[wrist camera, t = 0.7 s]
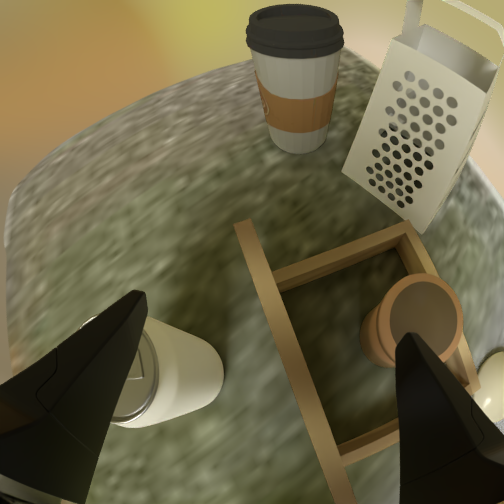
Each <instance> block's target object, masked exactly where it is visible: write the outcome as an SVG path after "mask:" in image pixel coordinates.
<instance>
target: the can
mask: <svg viewBox="0 0 504 504" xmlns="http://www.w3.org/2000/svg"><path fill="white" fill-rule="evenodd" d="M99 314H100V313H99ZM99 314H96V315H94V316H92V317H90V318H89V319H87V320H86V321H85V322H84V323H83V324H82V325H81V326H80V327H79V328H78V330H79V329H80V328H82V327H83V326H84V325H86V324H87V323H88V322H90V321H91V320H92V319H94V318H95V317H96V316H98V315H99ZM78 330H77V331H78ZM223 380H224V369H223V364H222V361H221V359H220V357H219V355H218V353H217V352H216V350H215V349H214V348H213V347H212V346H211V345H210V344H209V343H207V342H206V341H204V340H203V339H201V338H198V337H196V336H194V335H191V334H189V333H187V332H184V331H182V330H179V329H177V328H175V327H172V326H170V325H168V324H165V323H163V322H160V321H158V320H156V319H153V318H151V317H149V316H147V318H146V321H145V325H144V328H143V332H142V335H141V339H140V342H139V346H138V349H137V353H136V356H135V359H134V361H133V364H132V366H131V369H130V371H129V374H128V376H127V379H126V382H125V384H124V387H123V389H122V392H121V395H120V397H119V400H118V403H117V405H116V408H115V411H114V414H113V417H112V419H111V422H110V424H117V425H119V426H123V427H130V428H137V427H144V426H149V425H153V424H156V423H159V422H163V421H166V420H169V419H172V418H175V417H178V416H181V415H184V414H186V413H189V412H192V411H194V410H197V409H200V408H202V407H204V406H206V405H208V404H209V403H210V402H212V401H213V400H214V399H215V398H216V396H217V395H218V394H219V392H220V390H221V387H222V384H223Z"/></svg>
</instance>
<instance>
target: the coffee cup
mask: <svg viewBox="0 0 504 504" xmlns="http://www.w3.org/2000/svg"><path fill="white" fill-rule="evenodd" d="M246 34H247V38H246V42H247V45H248V47H250V49H251V53H252V58H253V62H254V66H255V74H256V78H257V83H258V87H259V91H260V95H261V100H262V104H263V109H264V113H265V117H266V121H267V123H268V127H269V132H270V136H271V139H272V140H273V142H274V143H275V144H276V145H277V146H278V147H279V148H280V149H282V150H284V151H286V152H289V153H293V154H305V153H309V152H312V151H315V150H316V149H317V148H319V147H320V146H321V145H322V144H323V142H324V141H325V139H326V136H327V131H328V125H329V122H330V119H331V113H332V108H333V102H334V97H335V91H336V85H337V79H338V66H339V60H340V53H341V48H343V45H344V39H343V34H344V32H343V29H342V27H341V26H340V25H339V19H338V17H337V15H335V14H334V13H333V12H331V11H329V10H326V9H324V8H321V7H317V6H311V5H303V4H283V5H275V6H269V7H266V8H262V9H260V10H257V11H255V12H254V13H253V14H251V15H250V17H249V25H248V26H247V28H246Z"/></svg>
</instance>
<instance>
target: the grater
mask: <svg viewBox="0 0 504 504" xmlns="http://www.w3.org/2000/svg"><path fill="white" fill-rule="evenodd" d="M442 1H444V2H446V3H449V4H450V5H452V6H454V7H456V8H459V9H461V10H462V11H464V12H466V13H468V14H470V15H472V16H474V17H475V18H477V19H479V20H480V21H482V22H484V23H486V24H487V25H489V26H490V27H492V28H494V29H495V30H497V32H498V34H499V36H500V39H501V41H502V43H503V46H504V28H503V26H502V25H501V24H500V23H498V22H497V21H495V20H493V19H492V18H490V17H488V16H487V15H485V14H483V13H481V12H480V11H478V10H476V9H474V8H472V7H470V6H469V5H467V4H465V3H463V2H460V1H459V0H442ZM422 4H423V0H407V4H406V11H405V17H404V24H403V30H402V34H401V35H399V36H396V37H394V38H392V39H391V42H390V45H389V48H388V51H387V54H386V57H385V59H384V62H383V65H382V68H381V71H380V73H379V76H378V79H377V82H376V84H375V87H374V90H373V93H372V95H371V98H370V101H369V103H368V106H367V108H366V111H365V114H364V116H363V119H362V121H361V124H360V126H359V129H358V132H357V134H356V137H355V139H354V142H353V144H352V147H351V149H350V151H349V154H348V156H347V159H346V161H345V164H344V166H343V168H342V171H341V172H342V173H344V174H345V175H347V176H348V177H349V178H351V179H352V180H353V181H355V182H356V183H358V184H359V185H360V186H362V187H363V188H364V189H366V190H367V191H368V192H370V193H371V194H372V195H374V196H375V197H376V198H378V199H379V200H380V201H381V202H383V203H384V204H385V205H386V206H388V207H389V208H390V209H392V210H393V211H394V212H395V213H396V214H398V215H399V216H400V217H401V218H403V219H404V220H408V219H409V220H410V222H411V224H412V226H413V227H414V228H415V229H416V230H417V231H418V232H419V233H420V234H421V235H423V233H424V232H425V230H426V229H427V227H428V226H429V224H430V223H431V221H432V220H433V218H434V217H435V215H436V214H437V212H438V210H439V209H440V207H441V206H442V204H443V202H444V201H445V199H446V198H447V196H448V194H449V193H450V191H451V189H452V188H453V186H454V184H455V183H456V181H457V179H458V177H459V175H460V173H461V171H462V169H463V167H464V165H465V163H466V160H467V158H468V156H469V153H470V151H471V149H472V146H473V144H474V141H475V139H476V136H477V134H478V132H479V129H480V127H481V124H482V121H483V119H484V116H485V113H486V110H487V107H488V104H489V101H490V98H491V95H492V92H493V89H494V86H495V82H496V79H497V76H498V72H499V68H500V65H501V63H500V65H499V67H498V66H497V65H495V64H494V63H492V62H491V61H490V60H488V59H486V58H485V57H483V56H482V55H480V54H479V53H477V52H476V51H474V50H472V49H471V48H469V47H467V46H466V45H464V44H463V43H461V42H459V41H457V40H456V39H454V38H452V37H450V36H448V35H446V34H444V33H443V32H441V31H439V30H437V29H435V28H433V27H431V26H429V25H426V24H424V25H422V26H419V21H420V16H421V10H422ZM503 57H504V55H503ZM503 57H502V60H503ZM502 60H501V62H502ZM397 90H398V91H397ZM389 126H390V127H391V128H393V129H394V130H396V131H397V132H393V131H391V130H390V128H389ZM385 130H386V131H387V137H386V138H383V137H381V136H380V134H382V133H383V132H384V131H385ZM401 134H402V135H403V136H405V137H406V138H408V139H407V140H406V139H403V138H402V137H401ZM391 136H396V137H397V138H398V140H399V144H398V145H393V144H392V143H391V142H390V137H391ZM413 142H414V143H415V144H416V145H418V146H419V147H421V148H417V147H415V146H414V145H413ZM383 143H387V144H388V145H389V146H390V151H389V152H386V151H384V150H383V149H382V144H383ZM403 144H407V145H409V147H410V149H411V152H410V153H405V152H404V151H403V150H402V148H401V147H402V145H403ZM373 149H376V150H378V151H379V153H380V157H379V158H376V157H374V156H373V154H372V150H373ZM395 150H396V151H399V152H400V154H401V159H399V160H397V159H395V158H394V157H393V154H392V153H393V151H395ZM424 150H425V151H426V152H428V153H429V154H430V155H432V156H431V157H429V156H427V155H426V154H425V151H424ZM414 152H418V153H420V154H421V156H422V160H421V161H416V160H415V159H414V158H413V153H414ZM384 156H386V157H388V158H389V159H390V161H391V163H390V165H386V164H384V163H383V161H382V158H383V157H384ZM407 158H408V159H410V160H411V161H412V163H413V165H412V167H411V168H408V167H406V166H405V164H404V159H407ZM426 160H429V161H431V162H432V163H433V169H432V170H428V169H427V168H426V167H425V166H424V162H425V161H426ZM377 162H378V163H380V164H381V165H382V167H383V170H382V171H379V170H377V169H376V168H375V163H377ZM394 164H397V165H399V166H400V167H401V169H402V170H401V172H400V173H397V172H395V171H394V169H393V165H394ZM367 166H370V167H371V168H372V169H373V170H374V173H373V174H369V173H368V172H367V170H366V167H367ZM415 167H420V168H422V169H423V172H424V173H423V175H422V176H419V175H417V174H416V173H415ZM385 170H390V171H391V172H392V174H393V177H392V178H388V177H387V176H386V175H385ZM404 172H408V173H410V174H411V176H412V180H410V181H408V180H406V179H405V178H404V176H403V174H404ZM377 173H379V174H381V175H382V176H383V181H379V180H377V178H376V174H377ZM454 175H455V176H454ZM457 176H458V177H457ZM398 177H399V178H401V179H402V181H403V185H402V186H399V185H397V184H396V182H395V179H396V178H398ZM456 178H457V179H456ZM369 179H374V180H375V182H376V186H371V185H370V184H369ZM415 180H419V181H420V182H421V183H422V188H421V189H418V188H416V187H415V186H414V181H415ZM455 180H456V181H455ZM386 181H391V182H392V183H393V185H394V187H393V189H390V188H388V187H387V186H386ZM454 181H455V182H454ZM453 183H454V184H453ZM406 185H409V186H411V187H412V188H413V193H412V194H409V193H407V191H406V190H405V186H406ZM452 185H453V186H452ZM378 186H383V187H384V188H385V190H386V191H385V193H381V192H380V191H379V190H378ZM451 186H452V187H451ZM397 188H399V189H401V190H402V191H403V196H398V195H397V194H396V192H395V190H396V189H397ZM450 188H451V189H450ZM449 190H450V191H449ZM448 191H449V192H448ZM388 193H392V194H393V195H394V196H395V200H394V201H392V200H390V199H389V198H388ZM447 193H448V194H447ZM406 196H410V197H411V198H412V199H413V203H412V204H409V203H407V202H406V200H405V197H406ZM445 196H446V197H445ZM444 198H445V199H444ZM398 200H400V201H402V202H403V203H404V205H405V206H404V208H400V207H399V206H398V205H397V201H398ZM442 201H443V202H442ZM441 202H442V203H441ZM440 204H441V205H440Z"/></svg>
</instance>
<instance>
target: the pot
mask: <svg viewBox="0 0 504 504" xmlns="http://www.w3.org/2000/svg"><path fill="white" fill-rule="evenodd" d="M462 330H463V313H462V308H461V305H460V302H459V300H458V298H457V296H456V294H455V292H454V291H453V290H452V288H451V287H450V286H449V285H448V284H447V283H446V282H445V281H443V280H442V279H440V278H438V277H436V276H434V275H431V274H425V273H417V274H412V275H409V276H406V277H404V278H403V279H401V280H400V281H398V282H397V283H396V284H395V285H394V286H393V287H392V288H391V289H390V290H389V291H388V292H387V293H386V294H385V296H384V297H383V299H382V301H381V303H379V304H378V305H377V306H376V307H374V308H373V309H372V310H371V311H370V312H369V313H368V314H367V315H366V317H365V318H364V320H363V322H362V325H361V328H360V344H361V348H362V350H363V352H364V354H365V356H366V357H367V358H368V359H369V360H370V361H371V362H372V363H374V364H375V365H377V366H380V367H384V368H395V348H396V346H397V344H398V343H399V341H400V340H401V339H402V337H403V336H404V335H405V333H407V332H416V333H418V334H419V335H420V336H421V338H422V339H423V340H424V341H425V342H426V343H427V344H428V345H429V347H430V348H431V349H432V350H433V351H434V352H435V353H436V355H437V356H438V357H439V358H440V359H441V360H442V362H445V361H446V360H447V359H448V358H449V357H450V356H451V355H452V354H453V352H454V351H455V349H456V348H457V346H458V344H459V341H460V338H461V335H462Z"/></svg>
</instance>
